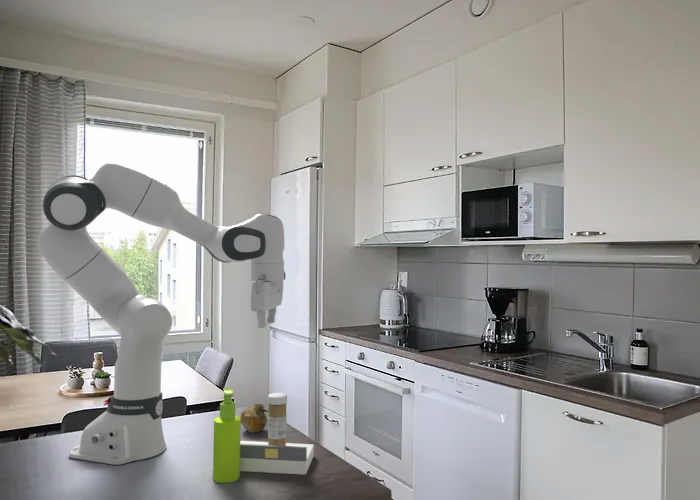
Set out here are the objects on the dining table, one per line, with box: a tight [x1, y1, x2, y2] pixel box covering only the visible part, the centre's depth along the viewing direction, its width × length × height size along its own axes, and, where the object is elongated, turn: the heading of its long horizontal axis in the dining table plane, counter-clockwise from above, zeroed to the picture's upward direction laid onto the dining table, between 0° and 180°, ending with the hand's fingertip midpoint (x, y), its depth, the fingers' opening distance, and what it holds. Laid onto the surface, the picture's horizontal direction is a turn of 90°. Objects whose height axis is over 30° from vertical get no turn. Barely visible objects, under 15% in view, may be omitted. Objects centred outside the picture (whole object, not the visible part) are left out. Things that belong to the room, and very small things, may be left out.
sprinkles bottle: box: [267, 392, 288, 446], centre depth 127 cm, size 5×5×13 cm
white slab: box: [240, 440, 315, 475], centre depth 127 cm, size 20×11×6 cm, turn 84°
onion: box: [239, 403, 269, 434], centre depth 150 cm, size 8×8×8 cm
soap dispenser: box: [212, 387, 242, 484], centre depth 118 cm, size 6×7×20 cm
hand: (266, 325), depth 143 cm, fingers open, 8 cm apart
